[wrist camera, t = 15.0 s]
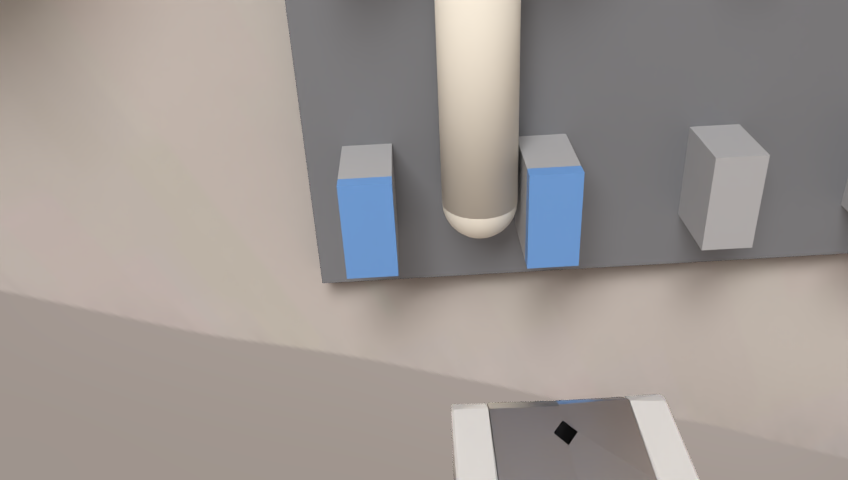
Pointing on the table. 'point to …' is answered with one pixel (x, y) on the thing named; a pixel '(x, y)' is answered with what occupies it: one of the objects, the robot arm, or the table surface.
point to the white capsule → (478, 112)
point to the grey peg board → (583, 135)
